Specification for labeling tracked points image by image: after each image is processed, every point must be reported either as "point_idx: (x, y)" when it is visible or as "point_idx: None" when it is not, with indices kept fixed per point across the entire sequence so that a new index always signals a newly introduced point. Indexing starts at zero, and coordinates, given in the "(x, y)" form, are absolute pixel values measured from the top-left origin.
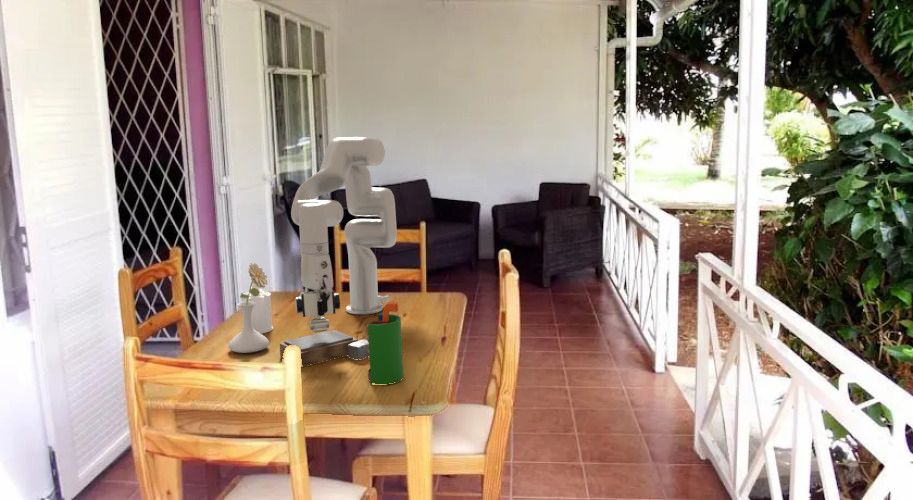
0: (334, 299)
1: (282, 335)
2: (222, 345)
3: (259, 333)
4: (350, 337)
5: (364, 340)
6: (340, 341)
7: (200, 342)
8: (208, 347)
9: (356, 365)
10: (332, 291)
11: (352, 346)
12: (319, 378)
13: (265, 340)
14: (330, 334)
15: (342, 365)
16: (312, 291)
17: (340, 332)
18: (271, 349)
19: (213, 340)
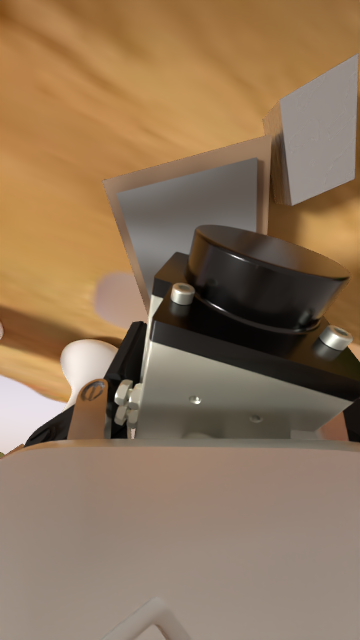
0: (327, 323)
1: (14, 289)
2: (64, 379)
3: (87, 369)
4: (252, 169)
5: (299, 101)
6: (255, 224)
7: (42, 393)
8: (70, 392)
9: (353, 208)
10: (353, 394)
11: (316, 194)
12: (343, 319)
13: (106, 355)
14: (169, 231)
15: (316, 245)
16: (137, 436)
17: (162, 183)
18: (112, 333)
19: (34, 381)
